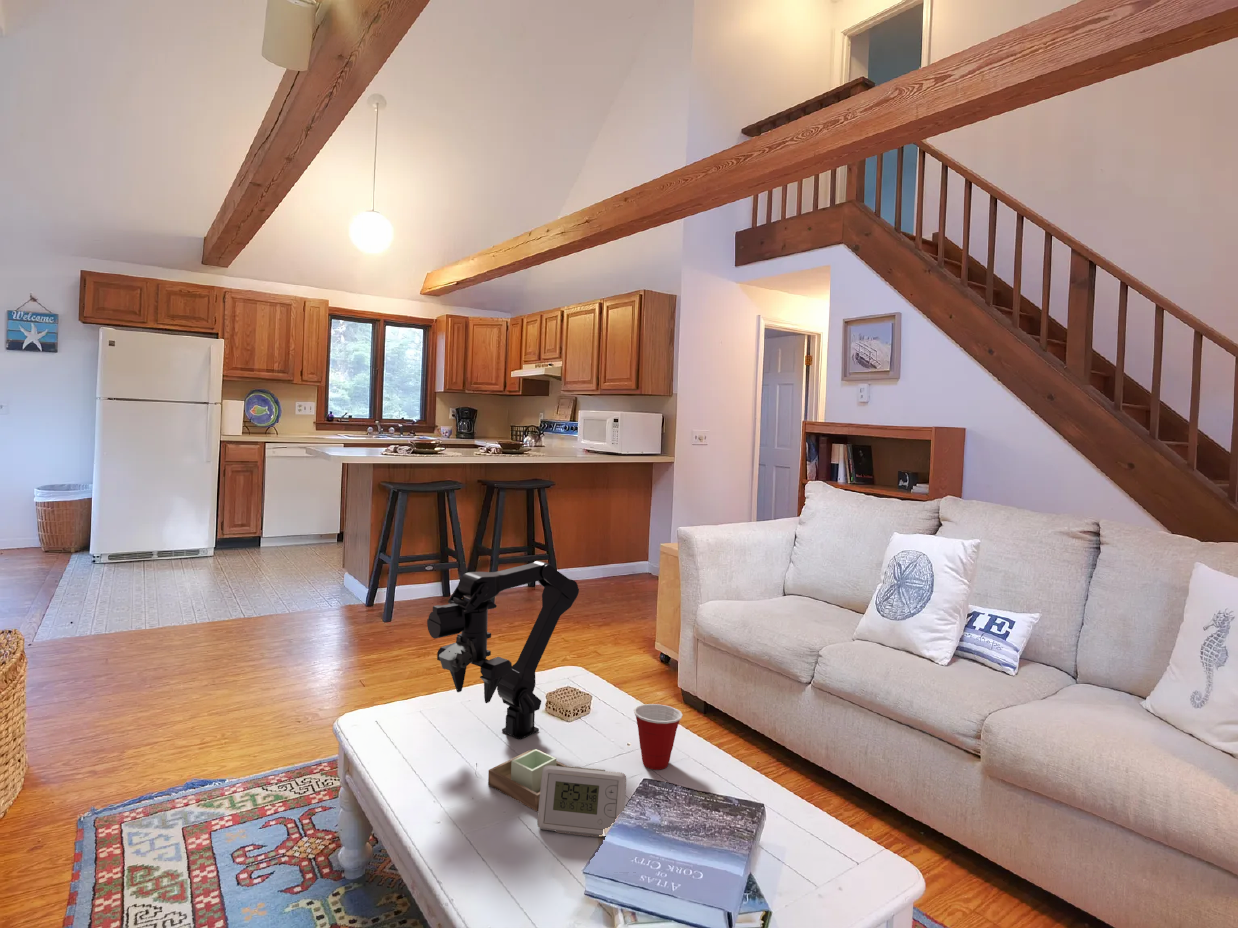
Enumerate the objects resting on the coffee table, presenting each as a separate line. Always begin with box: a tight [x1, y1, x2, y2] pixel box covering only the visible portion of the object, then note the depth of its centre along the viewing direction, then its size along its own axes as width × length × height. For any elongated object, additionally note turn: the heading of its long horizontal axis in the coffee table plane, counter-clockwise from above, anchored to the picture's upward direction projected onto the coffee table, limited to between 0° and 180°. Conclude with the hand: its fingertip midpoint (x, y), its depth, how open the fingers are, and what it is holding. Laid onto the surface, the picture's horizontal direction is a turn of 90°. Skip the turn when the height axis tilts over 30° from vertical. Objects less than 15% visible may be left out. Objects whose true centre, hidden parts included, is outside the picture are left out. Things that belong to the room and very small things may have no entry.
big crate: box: [487, 749, 567, 812], centre depth 143 cm, size 12×14×3 cm
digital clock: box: [536, 765, 627, 838], centre depth 130 cm, size 16×9×11 cm, turn 72°
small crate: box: [511, 748, 558, 793], centre depth 143 cm, size 7×6×5 cm
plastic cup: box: [633, 703, 684, 771], centre depth 155 cm, size 11×11×12 cm
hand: (473, 696), depth 158 cm, fingers open, 9 cm apart
